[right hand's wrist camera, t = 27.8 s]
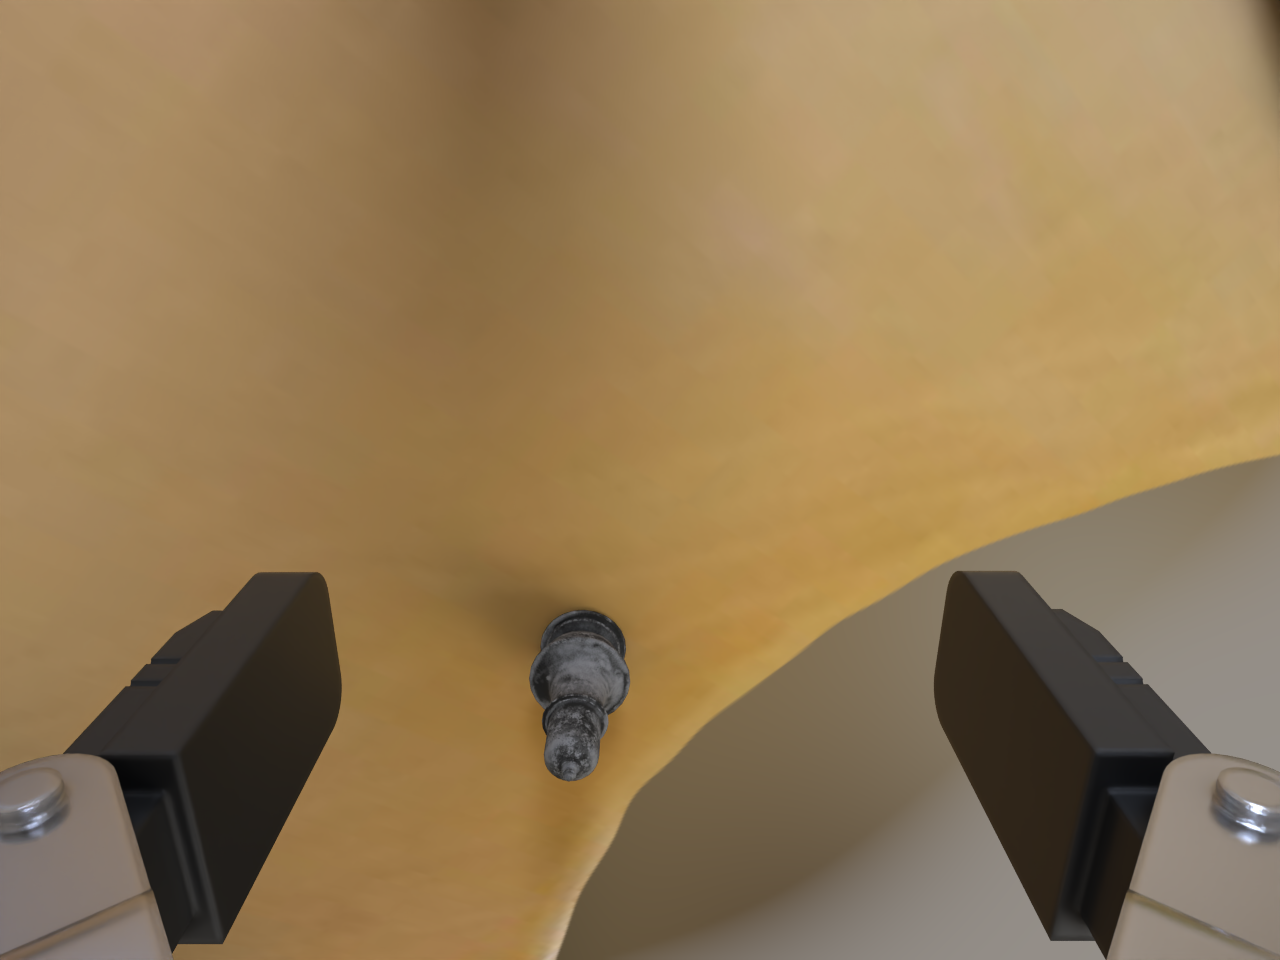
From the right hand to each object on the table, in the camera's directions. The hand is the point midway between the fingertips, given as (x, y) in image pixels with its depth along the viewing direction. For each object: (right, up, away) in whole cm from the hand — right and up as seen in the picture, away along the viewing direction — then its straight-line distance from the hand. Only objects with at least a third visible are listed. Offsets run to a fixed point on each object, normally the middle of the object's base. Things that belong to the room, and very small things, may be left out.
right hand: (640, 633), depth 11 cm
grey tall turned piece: (-4, -8, +43) cm, 44 cm away
